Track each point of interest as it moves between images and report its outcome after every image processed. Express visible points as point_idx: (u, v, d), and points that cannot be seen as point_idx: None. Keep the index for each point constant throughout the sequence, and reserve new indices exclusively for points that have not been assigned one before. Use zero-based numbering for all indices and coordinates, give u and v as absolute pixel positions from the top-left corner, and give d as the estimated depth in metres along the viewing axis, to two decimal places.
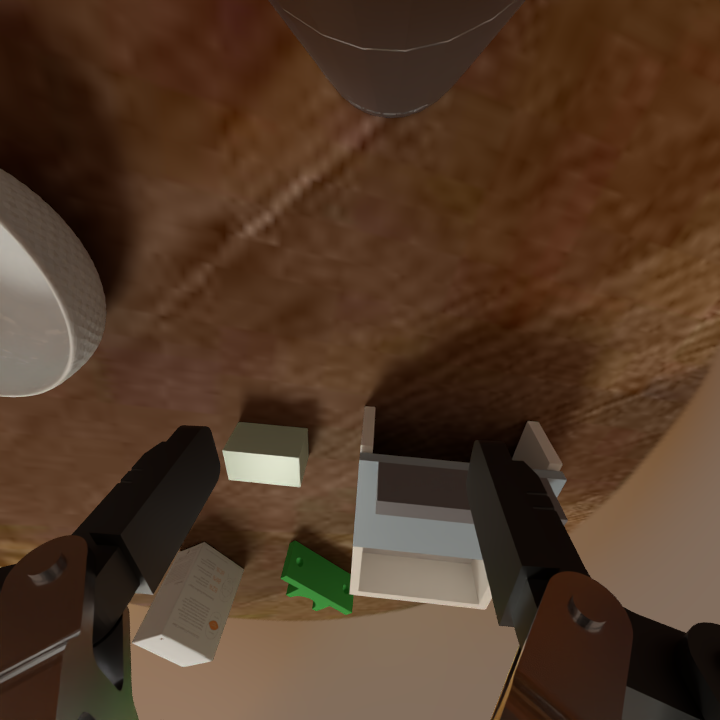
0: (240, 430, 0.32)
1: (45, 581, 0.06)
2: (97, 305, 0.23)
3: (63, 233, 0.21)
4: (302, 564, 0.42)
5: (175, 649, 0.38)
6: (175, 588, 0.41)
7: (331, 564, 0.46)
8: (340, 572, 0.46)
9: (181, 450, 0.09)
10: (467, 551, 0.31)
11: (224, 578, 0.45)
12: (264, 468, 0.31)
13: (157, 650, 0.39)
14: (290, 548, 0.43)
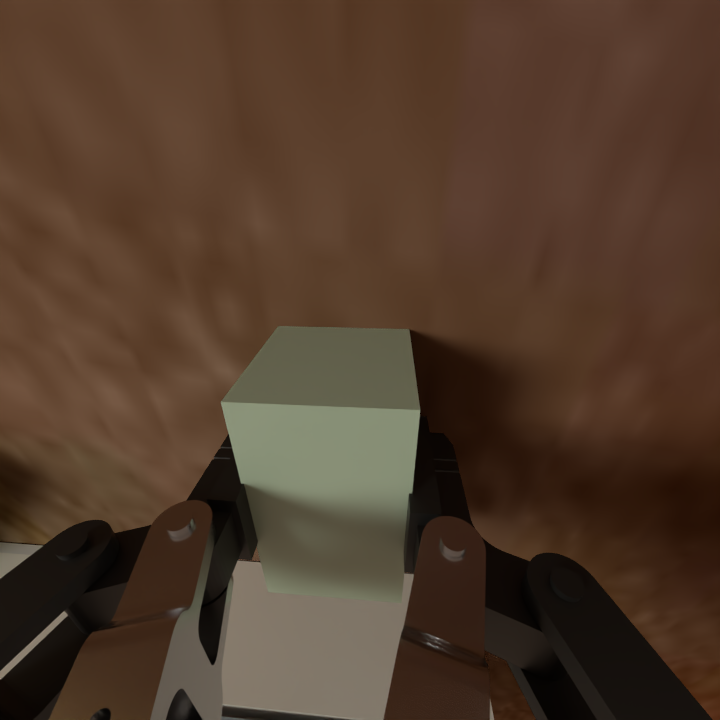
0: None
1: (184, 538, 0.07)
2: None
3: None
4: None
5: None
6: None
7: None
8: None
9: None
10: None
11: None
12: (333, 525, 0.08)
13: None
14: None
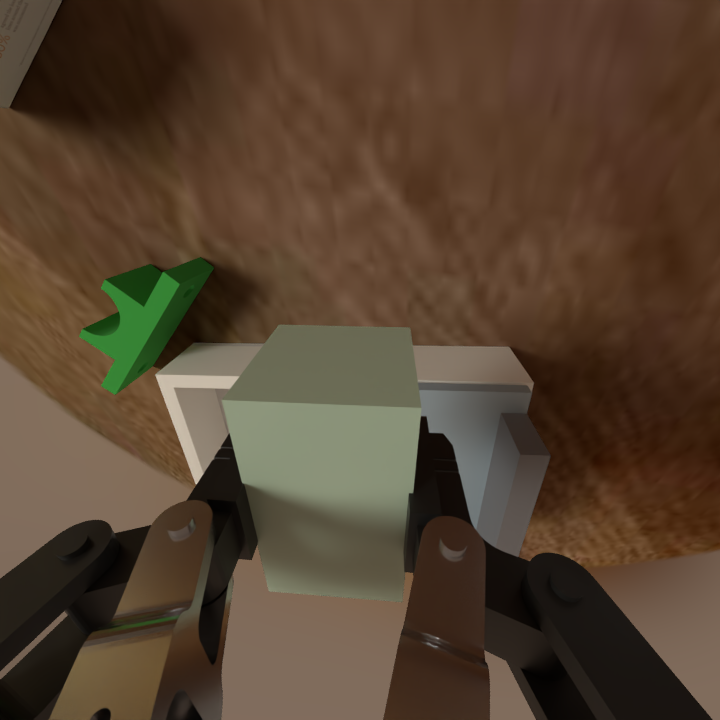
0: None
1: (184, 538, 0.07)
2: None
3: None
4: (183, 295, 0.23)
5: None
6: None
7: (173, 331, 0.26)
8: (162, 347, 0.27)
9: None
10: None
11: None
12: (334, 523, 0.08)
13: None
14: (200, 264, 0.23)
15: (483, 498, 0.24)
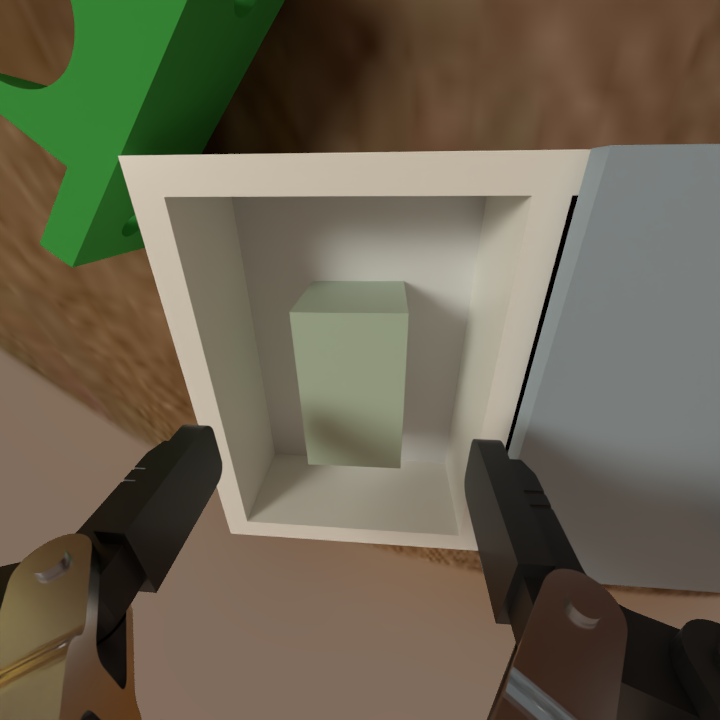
0: None
1: (50, 579, 0.06)
2: None
3: None
4: None
5: None
6: None
7: None
8: None
9: (184, 449, 0.09)
10: None
11: None
12: (355, 403, 0.13)
13: None
14: None
15: None
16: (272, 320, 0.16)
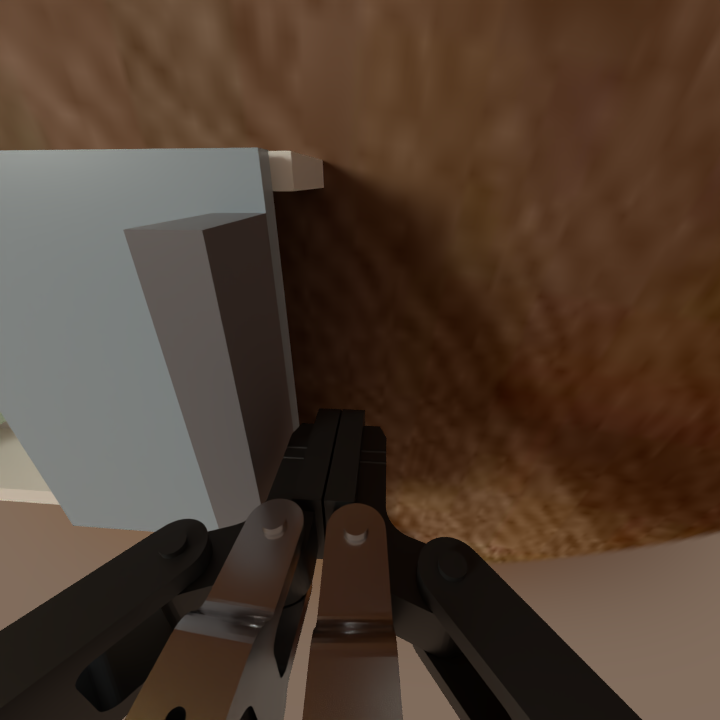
0: None
1: (281, 537, 0.07)
2: None
3: None
4: None
5: None
6: None
7: None
8: None
9: (333, 429, 0.10)
10: (49, 448, 0.14)
11: None
12: None
13: None
14: None
15: None
16: None
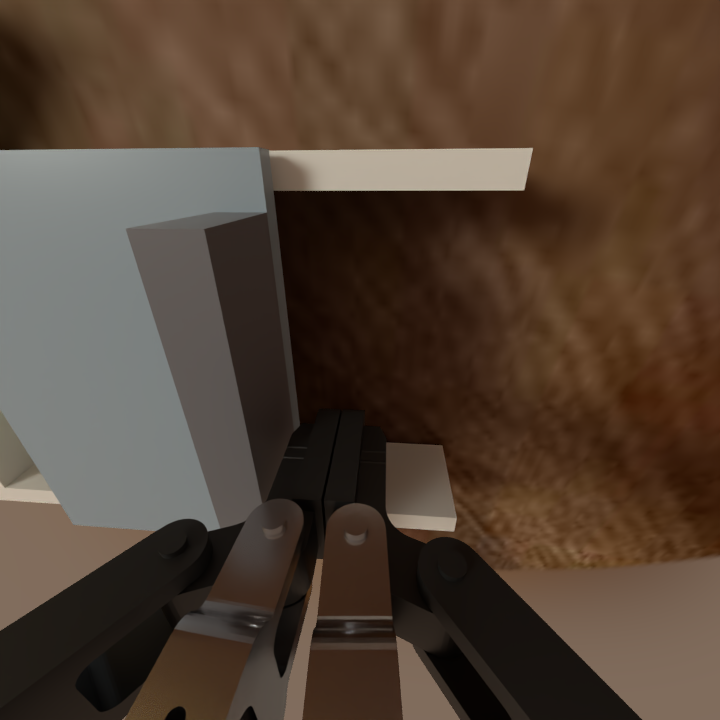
0: None
1: (281, 537, 0.07)
2: None
3: None
4: None
5: None
6: None
7: None
8: None
9: (333, 429, 0.10)
10: (50, 447, 0.14)
11: None
12: None
13: None
14: None
15: None
16: None
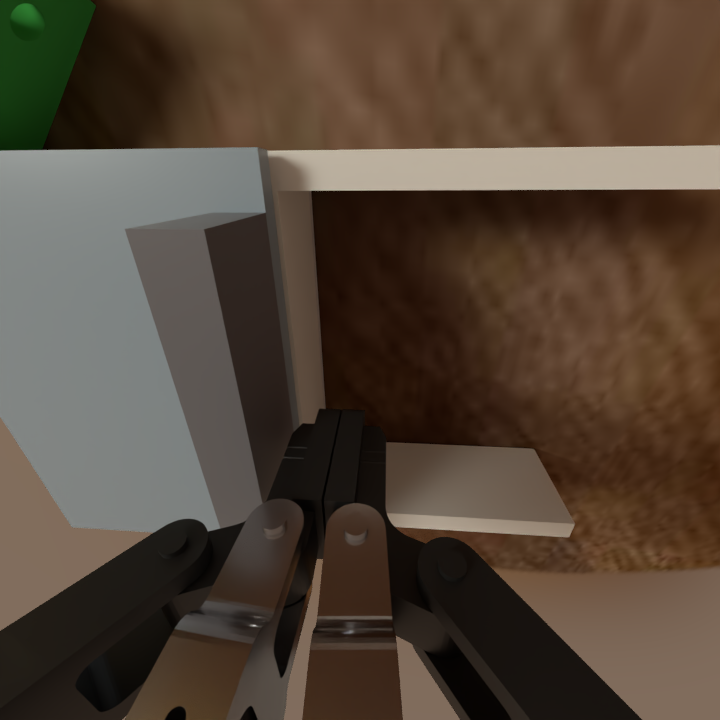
0: None
1: (282, 537, 0.07)
2: None
3: None
4: (17, 35, 0.11)
5: None
6: None
7: None
8: None
9: (333, 429, 0.10)
10: (47, 449, 0.14)
11: None
12: None
13: None
14: None
15: None
16: None
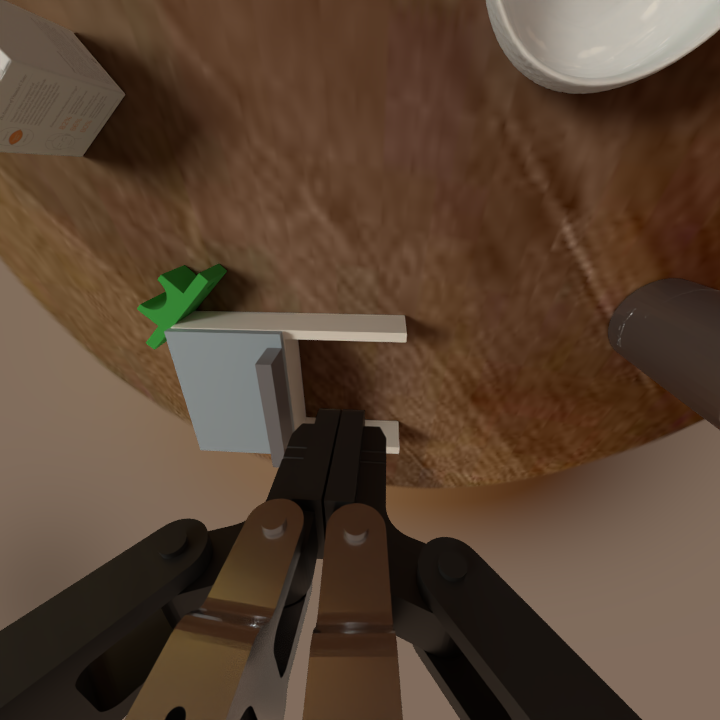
0: None
1: (281, 537, 0.07)
2: (562, 91, 0.24)
3: None
4: (206, 288, 0.36)
5: None
6: (59, 59, 0.24)
7: (194, 310, 0.39)
8: None
9: (333, 429, 0.10)
10: (200, 416, 0.39)
11: (75, 134, 0.29)
12: None
13: None
14: (219, 268, 0.36)
15: None
16: None
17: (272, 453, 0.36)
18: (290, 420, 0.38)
